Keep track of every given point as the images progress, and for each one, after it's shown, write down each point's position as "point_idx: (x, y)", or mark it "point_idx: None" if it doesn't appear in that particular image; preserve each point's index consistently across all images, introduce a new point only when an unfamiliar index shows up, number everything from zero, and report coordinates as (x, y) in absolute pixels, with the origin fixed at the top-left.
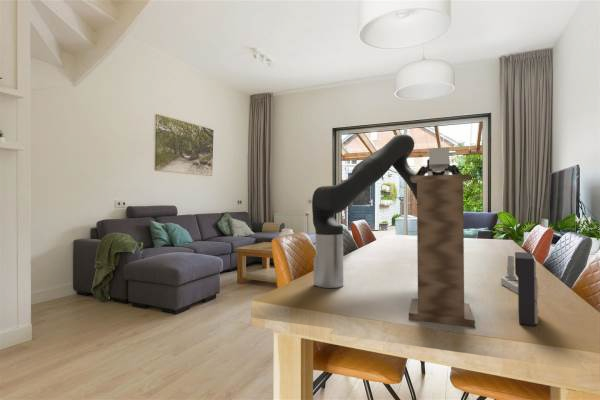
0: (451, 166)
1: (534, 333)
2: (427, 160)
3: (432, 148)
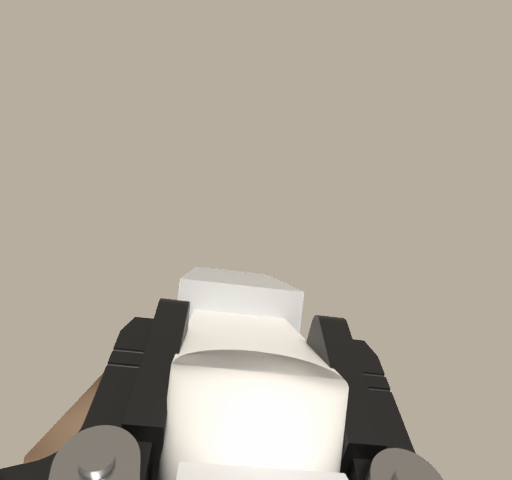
0: (27, 470)
1: None
2: (369, 354)
3: (255, 273)
